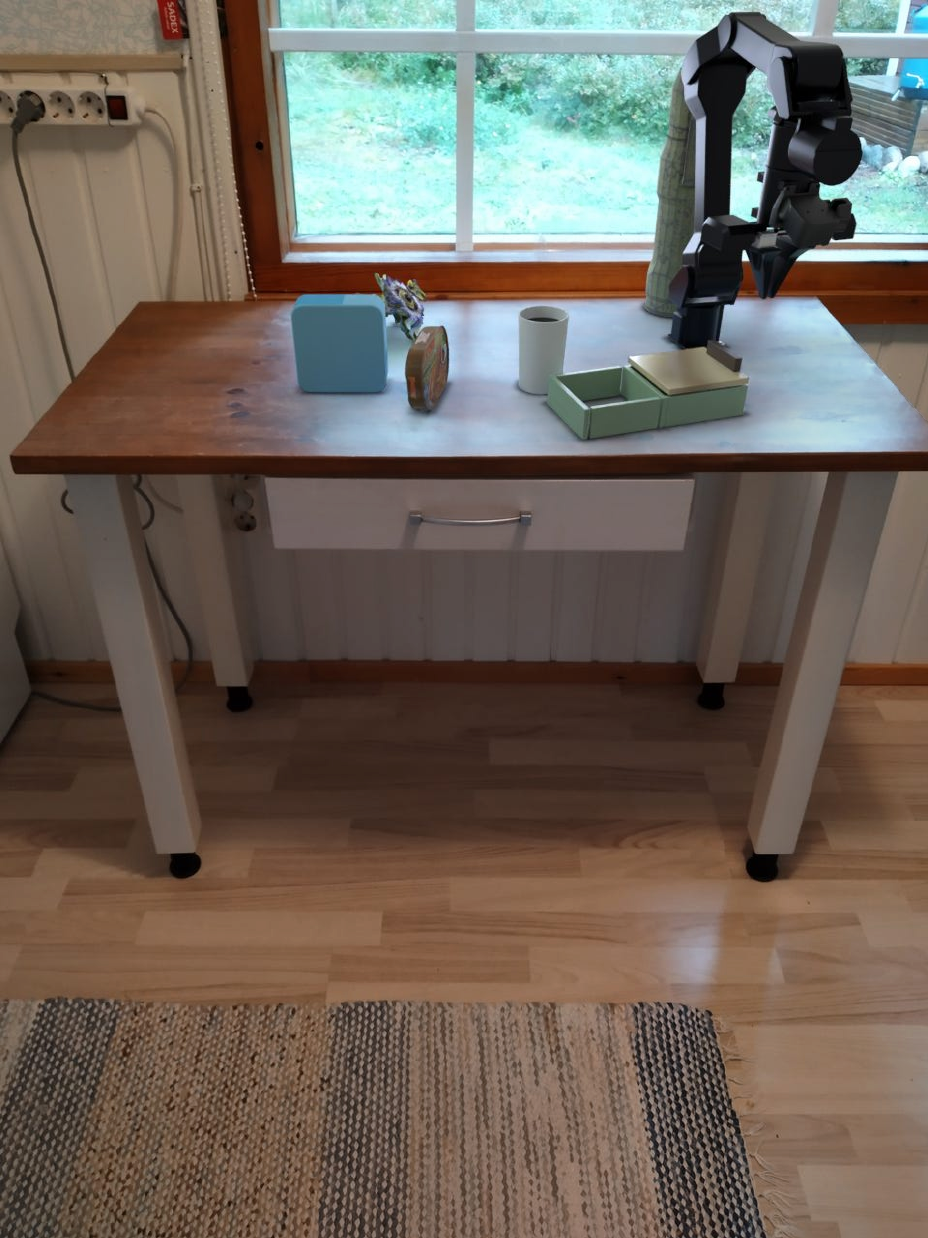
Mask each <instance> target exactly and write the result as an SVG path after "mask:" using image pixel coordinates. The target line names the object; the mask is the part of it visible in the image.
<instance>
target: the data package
mask: <svg viewBox="0 0 928 1238" xmlns="http://www.w3.org/2000/svg"><path fill="white" fill-rule="evenodd" d="M292 307H293V308H292V310H291V312H290V323H291V332H292V333H291V334H292V343H293V353H294V361H295V362H294V363H295V371H296V380H297V385H298V386H299V387H300V389H301V390H302V391H303V392H304V391H305V392H306V393H379V392H381V391H383V389H384V388H385V387H386V385H387V380H388V374H389V359H388V339H387V338H388V337H387V317H386V314H385V304H384V302H383V300H382V299H381V298H380V296H379V295H378V294H377V295H372V294H361V295H355V294H317V293H316V294H309V293H307V294H302V295H300V296H298V298H296V300H295V303H294V305H293V306H292Z"/></svg>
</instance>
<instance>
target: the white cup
mask: <svg viewBox="0 0 928 1238" xmlns="http://www.w3.org/2000/svg"><path fill="white" fill-rule="evenodd" d="M569 320H570V314H569V312H568V311H567V310H565V309H563V308H561V307H557V306H552V305H533V306H528V307H525V308H522V309H521V310H519V312H518V379H519V380H518V385H519V389H520V390H522V391H524V392H525V393H528V394H532V395H548V379H549V375H554V376H555V377H556V375H557V374H564V364H565V355H566V354H565V353H566V346H567V337H568V328H569V327H568V326H569Z"/></svg>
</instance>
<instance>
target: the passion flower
mask: <svg viewBox="0 0 928 1238" xmlns="http://www.w3.org/2000/svg"><path fill="white" fill-rule="evenodd" d="M373 275H374V278H375V280H376V282H377V284H378V286H379V288H380V289H381V292H382V294H381V295H380V296H379V297H380V298H381V299H382V300H383V302H384V304H385V314H386V318H388V317H389V316H393V319H394V323H395V325H398V324H399V329H400V331H401V332H402V333H404V335H405V337H406V339H408V340H410V341H412V342H414V341H415V339H416V338H417V336H418V335H419V333H420V331H421V330H420V328H421V327H422V325H424V317H425V314H424V312H425V307H424V305H423V304H422V303H420V301H422V302H427V301H428V300H427V298H426V293H424V291H423V290H421V288H420V287H419V284H418V281H417V280H416V279H412V280H411V279H409V280H407V282H406V285H405V284H404V282H399V281H400V280H399V278H396V279H393V278H391V277H390V276H387V274H386V273H385V274H383V275H382V277H380V274H379V273H377V272H374V274H373ZM354 295H362V294H361V293H360V292H355V293H354ZM371 295H377V296H378V294H377V293H372V294H371Z"/></svg>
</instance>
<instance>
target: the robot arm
mask: <svg viewBox="0 0 928 1238" xmlns="http://www.w3.org/2000/svg"><path fill="white" fill-rule="evenodd" d="M844 55H845V54H844V52H843V50H842V48H841V46H840V45H839V44H836V43H829V42H823V41H807V40H801V39H799V38H798V37H796V36H794V35H793V34H791V33H790V32H788V31H786V30H785V29H783V28H781V27H780V26H779V25H776V24H775V23H774V22H772V21H770V20H769V19H768V18H767V15H766V14H765V13H761V12H760V11H731V12H729V14H724V15H723V16H722V18H721V19H720V21H719V22H718V24H717V25H716V26H715V27H713V28H711V29H710V30H708V31H707V32H705V33H703V34H702V35H701V36H699V37H698V38H696V39H695V40H694V42H693V43H692V45H691V47H690V48H689V49H688V51H687V53H686V55H685V56H684V58H683V59H682V62H681V63H682V64H681V67H682V70H681V76H682V82H683V83H684V94H685V101H686V103H687V105H688V107H689V109H690V110H691V112H692V114H693V116H694V117H695V119H696V174H695V230H694V235H693V237H692V238H691V240H690V242H689V244H688V245H687V247H686V249H685V251H684V252H683V256H682V267H681V268H680V270H679V271H678V272H677V274H676V275H675V277H674V278H673V279H672V281H671V282H670V284H669V299H670V300H671V301H672V302H673V303H674V304H675V305H676V306H677V308H676V312H674V313H673V317H672V321H671V329H670V333H668V334H667V336H666V337H667V338H666V339H668V340H669V341H671V342H672V343H673V344H675V345H676V346H678V347H679V348H681V350H685V349H692V348H700V347H705V348H706V349H707V344H708V340H716V341H717V342H719V343H720V344H722V345H723V346H725V342H724V341H722V340H721V332H722V324H723V318H724V313H725V312H724V311H725V306H734V305H735V303H736V300H737V298H738V296H739V293H740V292H739V291H740V290H741V287H742V283H743V281H744V277H745V276H744V268H743V254H744V251H745V254H746V256H747V259H748V261H749V264H750V267H751V271H752V276H753V279H754V283H755V287H756V290H757V291H756V292H757V294H758V297H759V298H760V299H761V300H766V299H767V298H769V299H775V297H776V295H777V293H778V292H779V291H780V288H781V287H782V285H783V283H784V281H785V279H786V278H787V276H788V274H789V272H790V271H791V269H792V267H793V266H794V264H795V263H796V261H798V258H799V257H801V256H802V255H803V254H805V253H807V252H808V251H810V250H814V249H816V247H817V246H821V247H827V246H829V244H830V243H831V241H832V240H833V241H835V242H836V241H845V240H853V239H854V238H855V233H856V229H857V226H858V225H857V224H858V223H857V219H856V217H855V214H854V213H853V212H852V211H853V210H852V209H853V203H852V202H851V200H850V199H849V198H848V197H839V198H833V199H832V200H830V199H829V198H828V199H822V198H821V195H820V190H821V184H822V185H824V186H828V187H835V186H838V185H839V186H840V185H841V184H843V183H846V181H848V180H850V178H851V177H853V176H854V174H855V173H856V172H857V170H858V168H859V167H860V165H861V161H862V159H863V153H864V151H863V145H862V141H861V139H860V137H859V136H858V134H857V133H856V132H855V131H853V130H852V125H853V122H854V121H853V120H854V119H853V117H852V113H853V111H852V110H853V109H852V102H853V101H854V98H853V94H852V91H851V86H850V81H849V76H848V68H847V61H846V59H845V57H844ZM756 69H757V70H759V71H760V72H761V73H763V74H764V75H765V76H766V81H765V88H766V90H767V91H768V93H769V94H770V95H771V97H772V98H773V102H774V106H772V107H770V109H769V110H768V111H767V117H768V118H769V119H771V120H772V125H771V131H770V135H769V142H768V147H767V154H766V160H765V166H764V171H758V172H757V176H756V182H759V183H761V189H760V190H761V191H760V197H759V202H758V206H755V207H751V213H750V217H752V218H754V219H755V221H748V220H746V219H743V218H741V217H739V216H737V215H735V214H731V191H732V188H731V187H732V157H733V156H732V155H733V154H732V153H733V152H732V151H733V121H734V114H735V113H736V111H737V109H738V108H739V106H740V104H741V103H742V102H741V101H742V100H743V98H744V97H745V95H746V93H747V85H748V83H747V82H748V79H749V78H750V76H751V75H752V74H753V72H754V71H755V70H756ZM725 347H726V346H725Z"/></svg>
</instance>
